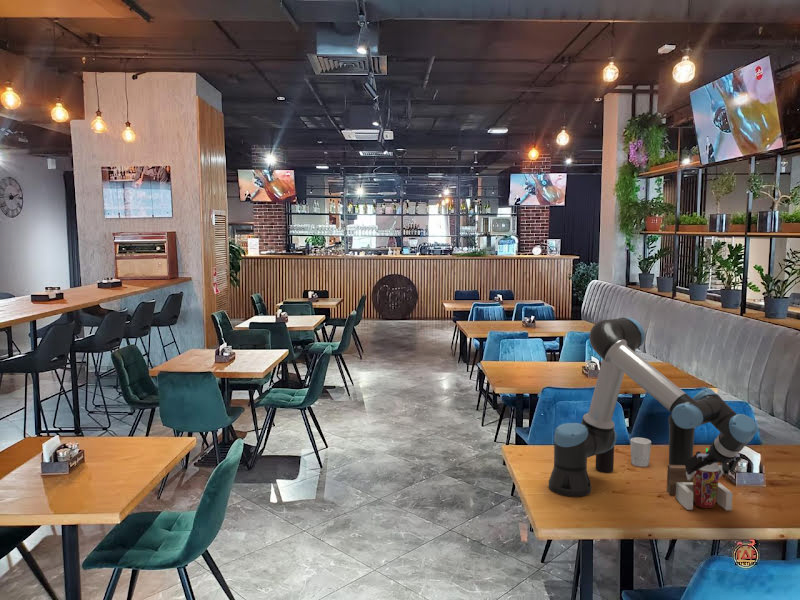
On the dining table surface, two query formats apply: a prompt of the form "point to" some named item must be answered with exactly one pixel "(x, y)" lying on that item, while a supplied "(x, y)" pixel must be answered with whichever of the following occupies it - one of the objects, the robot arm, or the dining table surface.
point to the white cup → (640, 451)
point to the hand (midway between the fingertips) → (701, 476)
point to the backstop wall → (676, 477)
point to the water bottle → (680, 443)
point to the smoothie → (706, 485)
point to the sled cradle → (686, 495)
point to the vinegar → (605, 461)
